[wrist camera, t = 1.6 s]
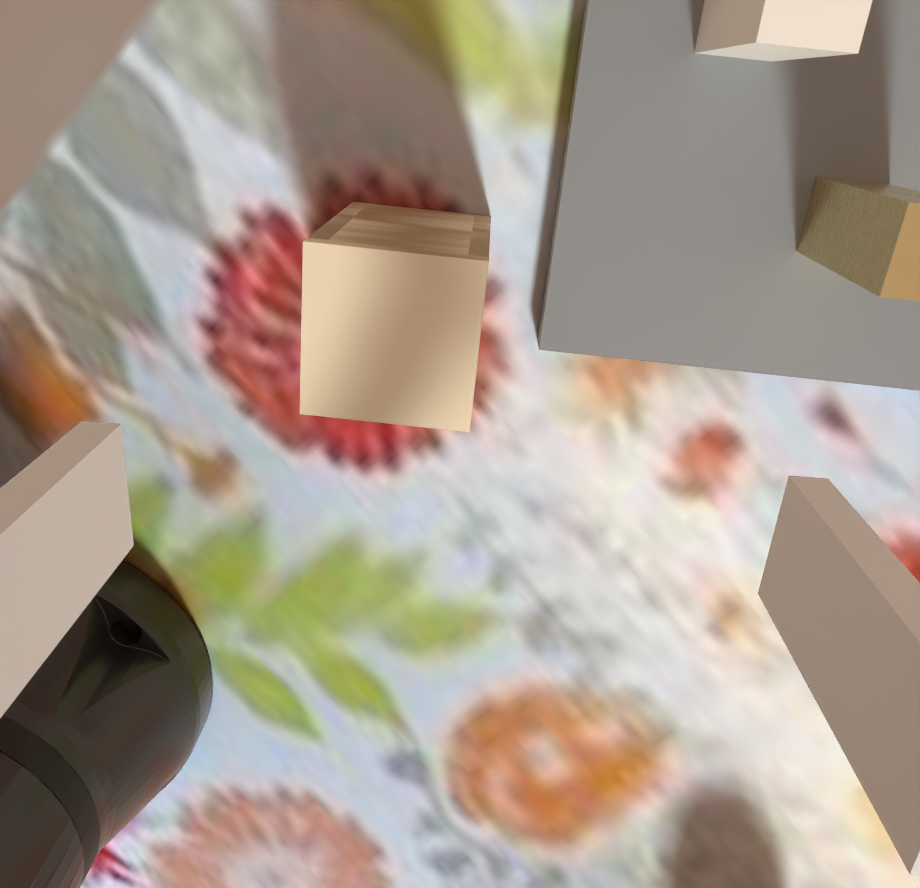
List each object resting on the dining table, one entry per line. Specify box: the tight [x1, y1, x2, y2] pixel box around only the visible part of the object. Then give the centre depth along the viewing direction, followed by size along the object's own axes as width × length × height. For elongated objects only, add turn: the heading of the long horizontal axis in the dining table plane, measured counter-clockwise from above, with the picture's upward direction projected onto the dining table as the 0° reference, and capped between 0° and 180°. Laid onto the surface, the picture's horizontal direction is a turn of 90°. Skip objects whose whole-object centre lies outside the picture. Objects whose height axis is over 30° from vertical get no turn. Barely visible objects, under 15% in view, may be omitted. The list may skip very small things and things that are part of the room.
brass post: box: [796, 176, 920, 301], centre depth 26 cm, size 3×3×7 cm
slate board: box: [538, 0, 920, 390], centre depth 28 cm, size 16×16×1 cm
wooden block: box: [300, 202, 491, 432], centre depth 28 cm, size 5×5×9 cm
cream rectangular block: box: [694, 0, 873, 61], centre depth 23 cm, size 3×3×7 cm
